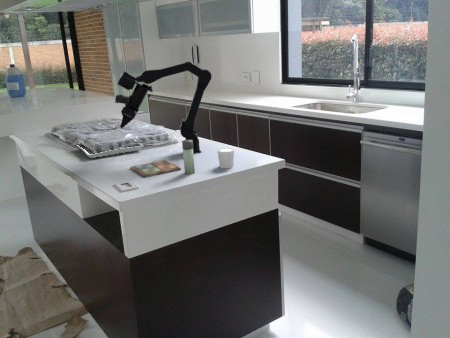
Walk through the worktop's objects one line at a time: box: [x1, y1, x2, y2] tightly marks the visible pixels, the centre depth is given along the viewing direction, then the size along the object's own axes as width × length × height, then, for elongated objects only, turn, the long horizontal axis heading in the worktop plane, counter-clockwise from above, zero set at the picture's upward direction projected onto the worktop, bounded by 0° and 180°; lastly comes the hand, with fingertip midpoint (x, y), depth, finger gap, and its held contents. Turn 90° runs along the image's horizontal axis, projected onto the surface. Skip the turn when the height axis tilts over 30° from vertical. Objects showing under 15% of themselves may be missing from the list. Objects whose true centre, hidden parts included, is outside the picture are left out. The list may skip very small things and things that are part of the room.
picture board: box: [129, 159, 182, 178], centre depth 179 cm, size 16×16×1 cm
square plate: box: [76, 143, 145, 159], centre depth 215 cm, size 27×27×4 cm
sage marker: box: [181, 139, 196, 175], centre depth 170 cm, size 4×4×13 cm
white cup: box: [217, 147, 235, 169], centre depth 177 cm, size 7×7×7 cm
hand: (122, 125), depth 196 cm, fingers open, 9 cm apart
